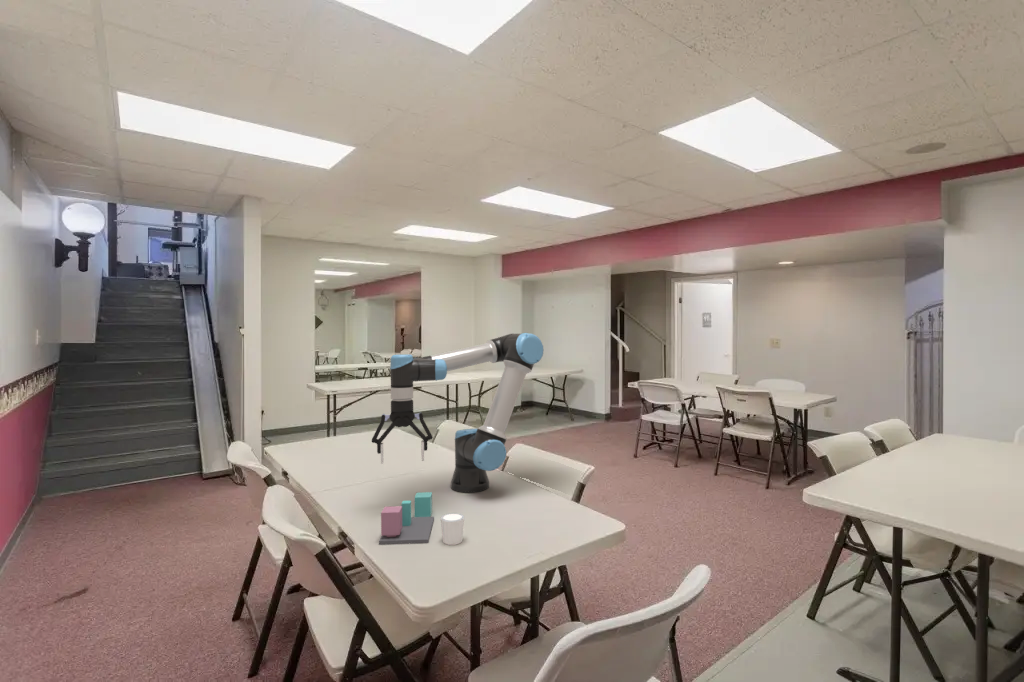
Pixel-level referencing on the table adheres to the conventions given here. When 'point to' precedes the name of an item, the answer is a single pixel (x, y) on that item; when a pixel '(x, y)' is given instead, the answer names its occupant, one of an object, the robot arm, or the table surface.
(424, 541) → the stand
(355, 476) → the table surface
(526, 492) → the table surface
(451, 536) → the white cup
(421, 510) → the teal rectangular prism
